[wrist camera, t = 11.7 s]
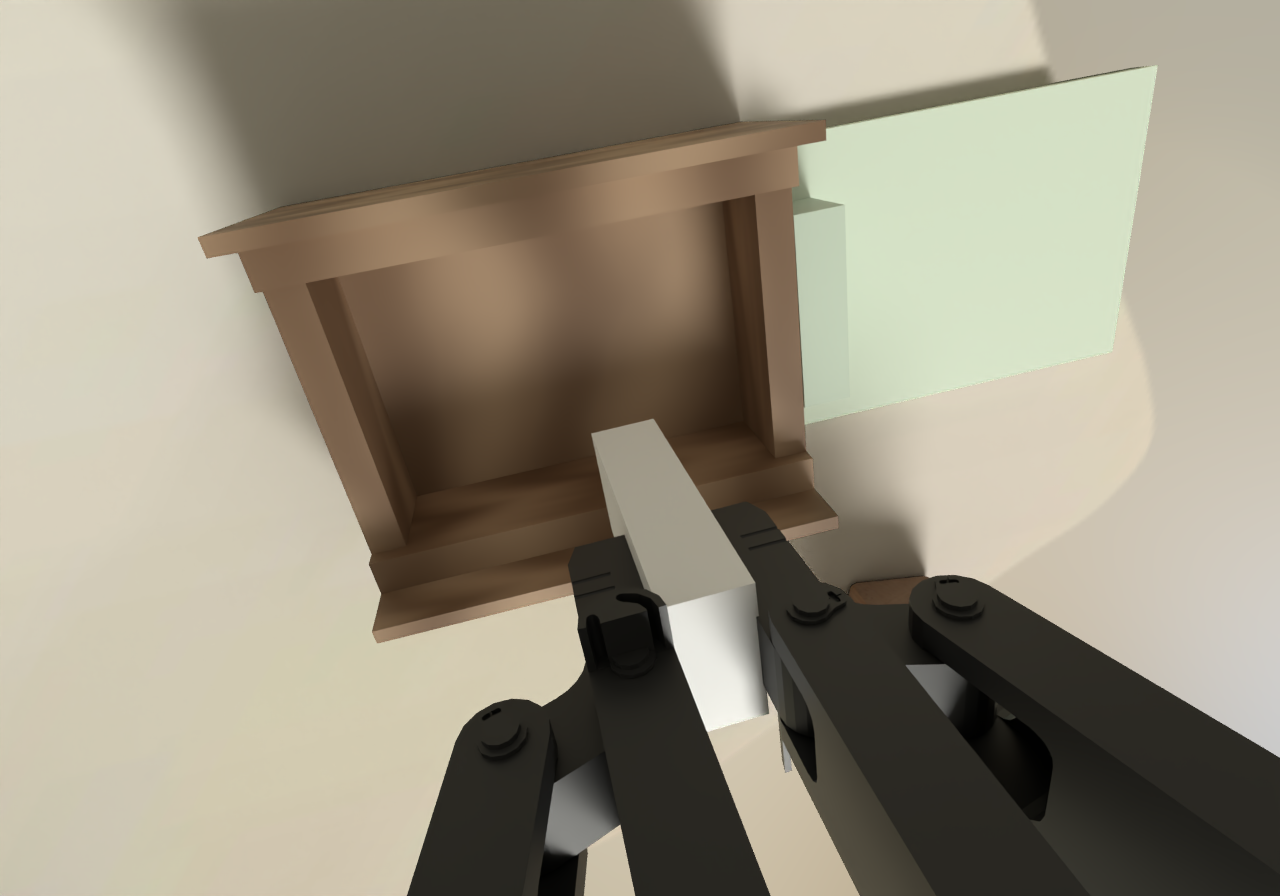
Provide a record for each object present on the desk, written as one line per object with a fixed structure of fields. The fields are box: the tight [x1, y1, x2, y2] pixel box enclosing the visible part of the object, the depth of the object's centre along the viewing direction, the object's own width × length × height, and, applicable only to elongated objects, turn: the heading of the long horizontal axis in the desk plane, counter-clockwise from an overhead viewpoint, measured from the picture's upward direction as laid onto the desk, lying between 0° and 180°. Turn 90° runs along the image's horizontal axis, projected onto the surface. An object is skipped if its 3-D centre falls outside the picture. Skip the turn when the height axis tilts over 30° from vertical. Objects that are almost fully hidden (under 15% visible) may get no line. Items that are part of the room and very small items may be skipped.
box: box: [198, 120, 839, 643], centre depth 23 cm, size 16×13×7 cm
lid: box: [792, 65, 1158, 425], centre depth 26 cm, size 16×11×4 cm
